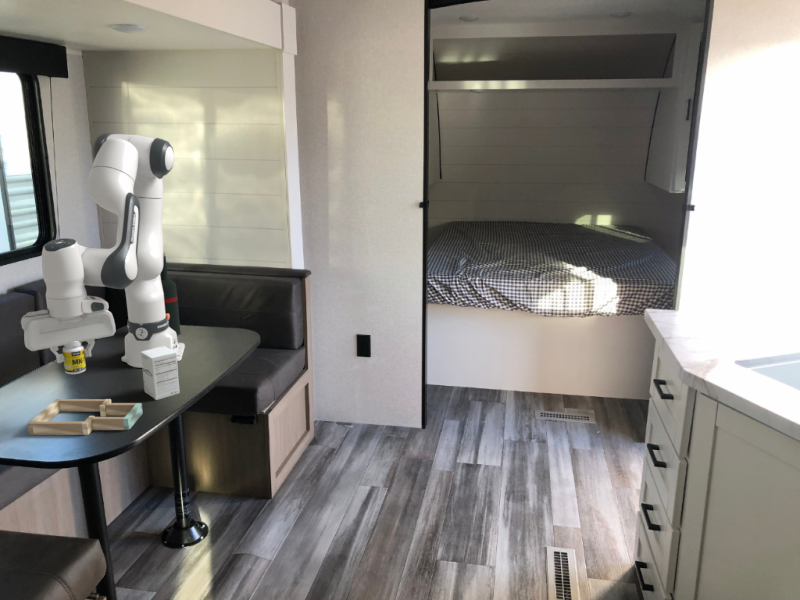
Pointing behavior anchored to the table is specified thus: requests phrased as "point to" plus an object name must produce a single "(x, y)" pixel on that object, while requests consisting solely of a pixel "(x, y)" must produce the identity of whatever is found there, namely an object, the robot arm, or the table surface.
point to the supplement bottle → (74, 358)
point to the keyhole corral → (106, 408)
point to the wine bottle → (170, 299)
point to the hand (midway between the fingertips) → (74, 359)
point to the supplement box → (160, 372)
